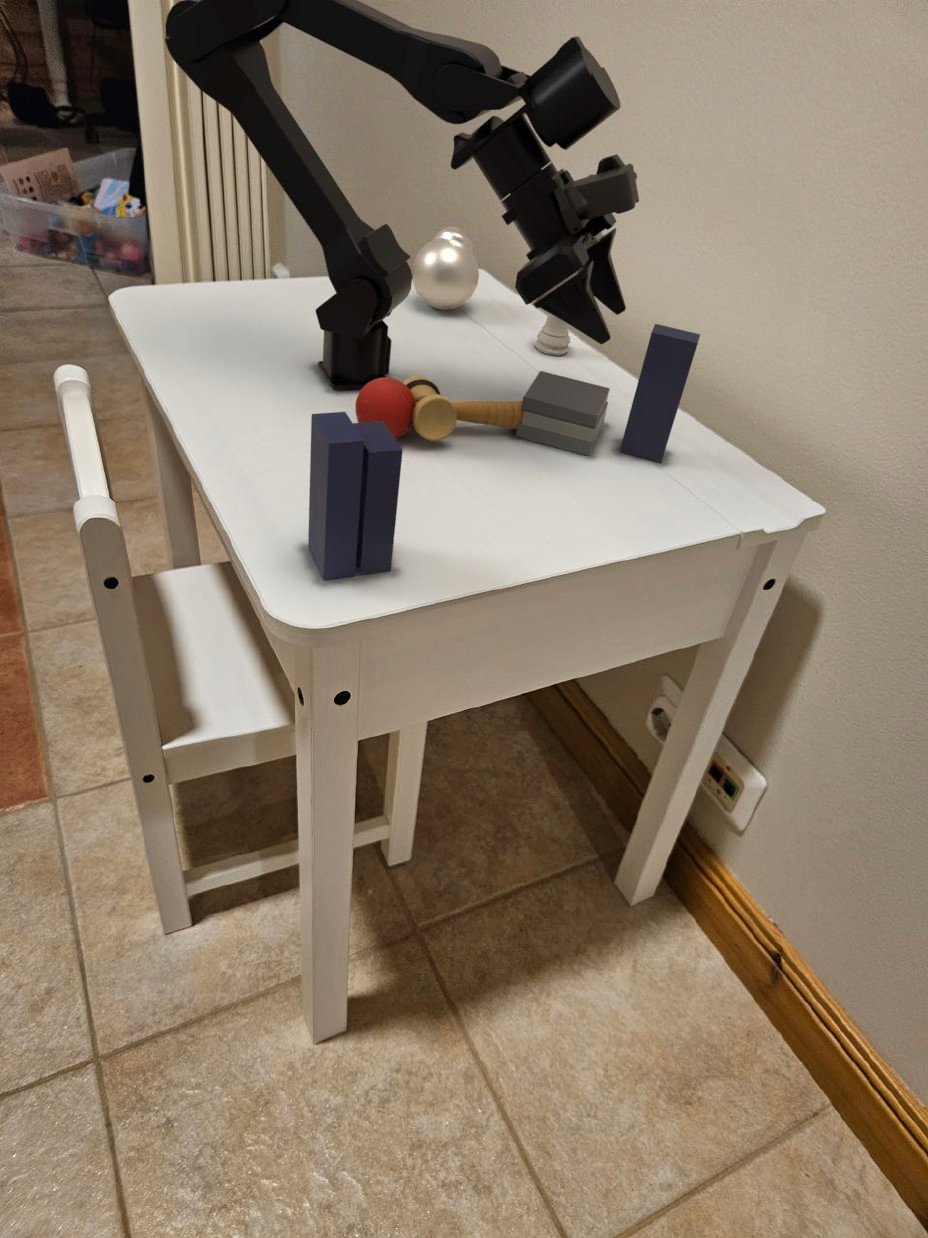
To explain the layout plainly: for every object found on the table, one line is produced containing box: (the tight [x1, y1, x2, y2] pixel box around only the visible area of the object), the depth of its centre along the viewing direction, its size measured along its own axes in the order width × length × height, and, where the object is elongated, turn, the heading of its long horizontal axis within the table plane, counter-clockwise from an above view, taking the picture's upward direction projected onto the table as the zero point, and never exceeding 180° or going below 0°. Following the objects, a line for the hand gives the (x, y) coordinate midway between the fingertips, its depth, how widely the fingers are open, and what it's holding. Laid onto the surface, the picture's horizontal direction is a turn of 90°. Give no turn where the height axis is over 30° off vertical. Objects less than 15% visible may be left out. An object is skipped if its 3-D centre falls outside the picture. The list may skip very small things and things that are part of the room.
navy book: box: [619, 323, 701, 463], centre depth 89 cm, size 3×4×13 cm, turn 73°
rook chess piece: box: [534, 312, 571, 357], centre depth 110 cm, size 4×4×8 cm
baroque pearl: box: [411, 226, 480, 311], centre depth 116 cm, size 9×10×10 cm
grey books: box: [515, 370, 611, 457], centre depth 93 cm, size 8×8×4 cm
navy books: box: [307, 411, 404, 581], centre depth 68 cm, size 6×4×12 cm
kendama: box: [354, 375, 524, 441], centre depth 89 cm, size 8×6×18 cm
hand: (614, 326), depth 87 cm, fingers open, 9 cm apart
